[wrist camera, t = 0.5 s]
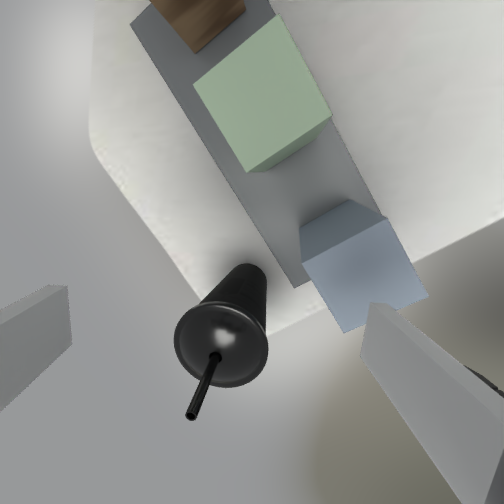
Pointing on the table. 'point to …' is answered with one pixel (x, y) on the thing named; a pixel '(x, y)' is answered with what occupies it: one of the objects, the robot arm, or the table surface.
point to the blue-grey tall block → (357, 263)
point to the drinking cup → (225, 334)
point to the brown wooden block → (199, 18)
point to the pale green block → (264, 98)
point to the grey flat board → (243, 184)
